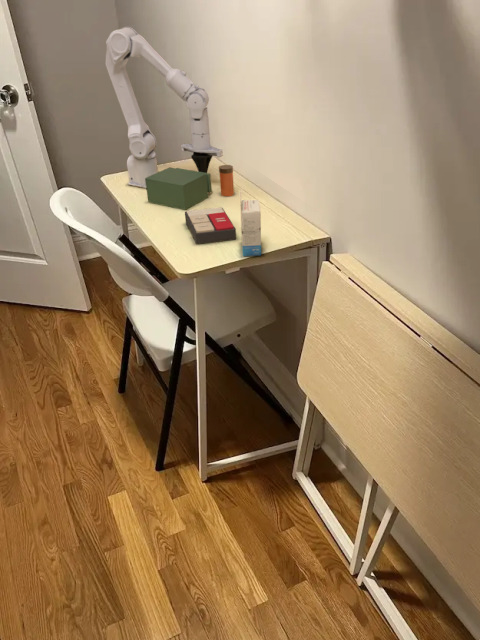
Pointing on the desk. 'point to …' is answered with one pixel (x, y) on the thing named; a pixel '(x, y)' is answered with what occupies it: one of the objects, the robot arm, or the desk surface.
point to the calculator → (210, 225)
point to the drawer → (207, 179)
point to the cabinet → (177, 188)
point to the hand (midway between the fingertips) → (203, 176)
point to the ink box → (250, 227)
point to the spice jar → (226, 180)
